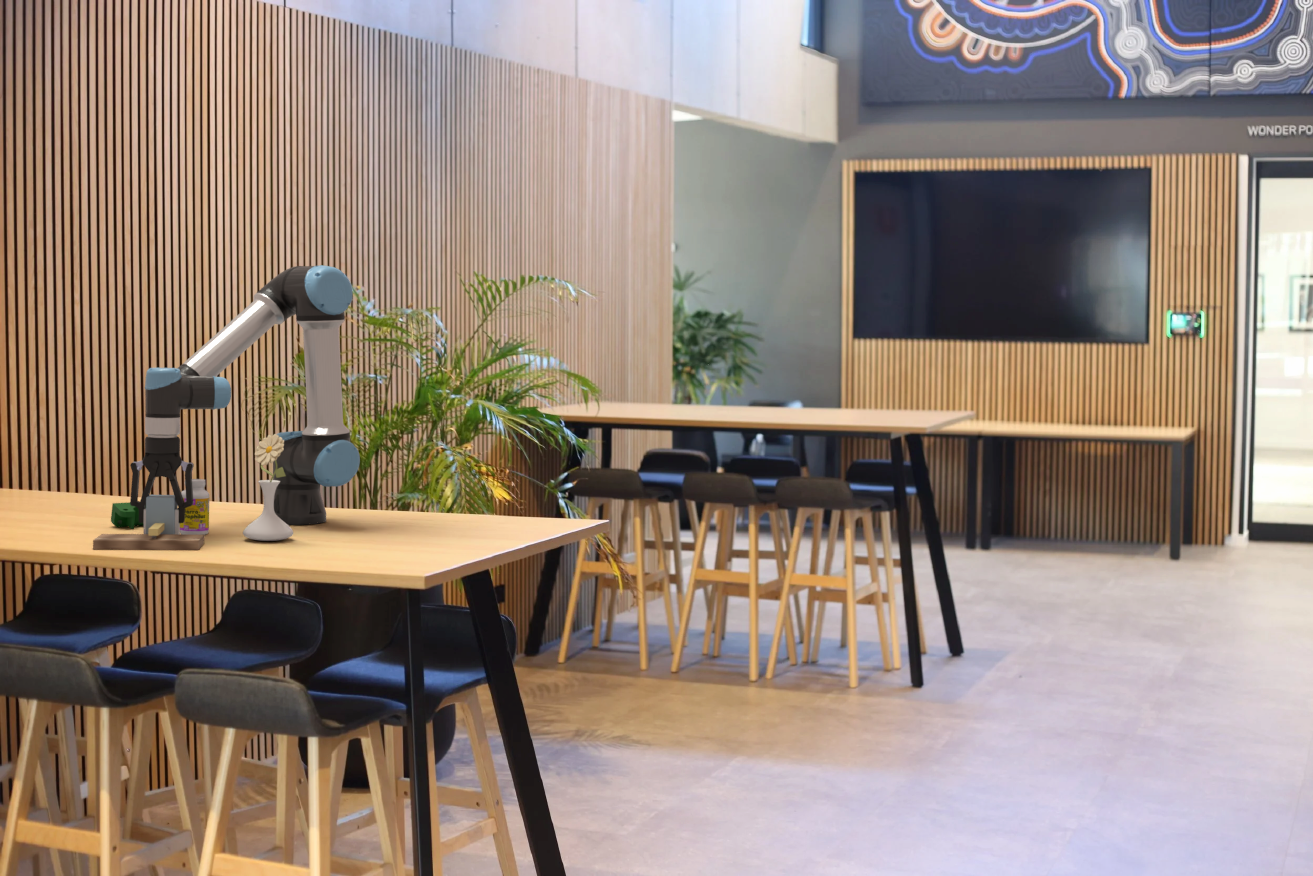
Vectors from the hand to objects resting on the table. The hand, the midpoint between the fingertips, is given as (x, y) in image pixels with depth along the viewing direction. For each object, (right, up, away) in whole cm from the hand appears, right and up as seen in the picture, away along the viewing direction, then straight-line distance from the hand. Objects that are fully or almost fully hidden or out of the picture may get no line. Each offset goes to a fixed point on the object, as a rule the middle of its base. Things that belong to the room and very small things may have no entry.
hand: (161, 537), depth 329 cm
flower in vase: (+23, -2, +6) cm, 24 cm away
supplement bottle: (+3, 0, +13) cm, 13 cm away
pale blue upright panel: (+1, -1, -5) cm, 5 cm away
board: (0, -2, -8) cm, 8 cm away
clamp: (-13, +1, +21) cm, 25 cm away
